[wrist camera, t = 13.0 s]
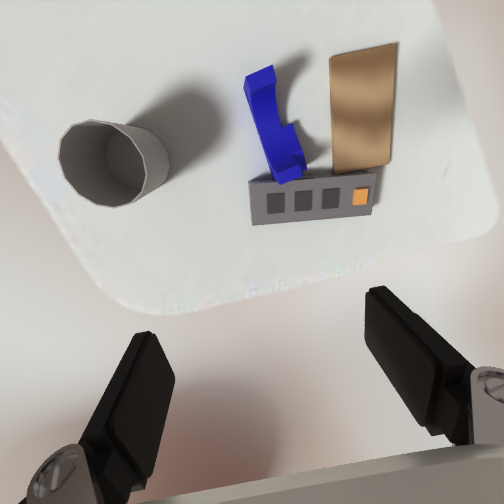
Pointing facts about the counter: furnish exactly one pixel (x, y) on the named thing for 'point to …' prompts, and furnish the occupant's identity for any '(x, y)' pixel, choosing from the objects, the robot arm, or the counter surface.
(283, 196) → the power strip
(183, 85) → the counter surface
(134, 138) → the cup
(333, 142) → the wooden board
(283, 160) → the cable clip
